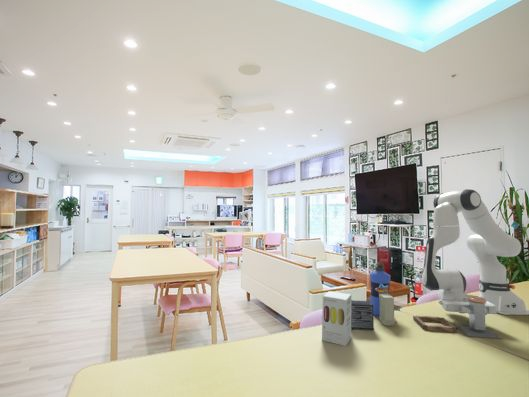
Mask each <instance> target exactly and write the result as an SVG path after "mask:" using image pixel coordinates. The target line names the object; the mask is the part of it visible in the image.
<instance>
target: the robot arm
mask: <svg viewBox="0 0 529 397" xmlns="http://www.w3.org/2000/svg"><path fill="white" fill-rule="evenodd" d="M481 198H482V197H481V196H480V194H479V192H477V191H476V190H474V189H460V190H459V189H457V190H452V191H447V192H442V193H440V194H437V195H436V196H434V199H433V208H434V210H433V218H432V224H433V225H432V226H433V231H432V234H431V235H430V236H429V237H428V238H427V240H426V244H425V252H424V262H423V269H422V273H421V282H422V285H423V287H425V288H426V289H427V290H429V291H430V292H431V291H437V296H438V298H439V299H440V301H439V300H438V304H439V305H440V306H441V307H442V309H444V310H445V311H446V312H449V313H451V312H452V313H459V314H468V315H469V314H473V310H471V309H469V301H468V296H474V295H473V294H467V293H465V292H466V290H467V279H466V277H465V276H464V275H465V274H463V272H461V271H460V270H458V269H454V268H453V269H449V268H447V269H436V259H437V253H438V252H439V250H441V249H442V248H444V247H447V246H450V245H452V244H454V243H455V242H457V241H458V239H459V238H460V235H461V234H460V233H461V232H460V231H461V229H460V221H459V216H458V213H461V215H462V216H463V218H464V220H465V221H466V224H467V225H468V227H469V229H470V230H471V231H472V232H473V233H474V234H471V235H469V236H468V238H467V241H466V245H467V247H468V248H467V249H469V250H470V251H471V252H472V253H473V255H474V256H475V258H476V260H477V262H478V263H477V264H478V266H479V280H478V288H479V290H478V291H479V293H478V294H479V295H478V296H477V295H475V296H476V297H482V298H485V299H486V303H485V316H487V315H496V314H500V315H506V316H508V315H509V316H512V315H513V316H514V315H515V316H528V315H529V309H527V308H526V306H527V305H526V303H525V301H524V300H523V298H521V297H520V296H518V295H517V294H516V293H514V291H512V290H515V289H516V286H515V285H514V284H509V283H507V268H506V266H505V265H503V263H501V261H499V260H498V257H503V258H510V257H511V258H514V257H516V256H518V255H519V254H520V253H521V251H522V245H521V242H520V240H519V239H518V238H516V237H514V236H512V235H510V234H509V233H507V232H506V231H505V230H503V229H502V228H501V227H500V226H499V225H498V224H497V223H496V221H495V219H494V218H493V217H492V215H491V213H490V211H489V210H488V207H487V205H486V204H485V202H483V200H482V199H481ZM511 289H512V290H511Z"/></svg>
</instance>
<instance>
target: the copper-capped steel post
mask: <svg viewBox="0 0 529 397" xmlns="http://www.w3.org/2000/svg"><path fill="white" fill-rule="evenodd" d="M476 296H477V295H473V296H468V301H469V309H471V310H473V314H468V319H469V320H468V321H469V322H468V323H469V327H472V328H473V329H475V330H486V329H485V328H486V315H485V303H486V299H485V298H482V297H476Z"/></svg>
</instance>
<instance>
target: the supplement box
mask: <svg viewBox="0 0 529 397" xmlns="http://www.w3.org/2000/svg"><path fill="white" fill-rule="evenodd" d="M351 300H352V294H350V293H344V292H337V291H332V290H329V291H327V292H326V293H325V294H324V295H323V296H322V314H321V315H322V316H321V317H322V318H321V341H323V342H327V343H332V344H337V345H341V346H345V347H346V346H347V345H348V343H349V341H350V339H351V338H352V329H351Z"/></svg>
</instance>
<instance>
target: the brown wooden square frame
mask: <svg viewBox="0 0 529 397" xmlns="http://www.w3.org/2000/svg"><path fill="white" fill-rule="evenodd" d="M412 319H413V321H414V322H415V323H416V324H417V325H418V326H419V327H420V328H421V329H422V330H424V331H425V330H426V331H428V332H429V331H430V332H442V333H443V332H444V333H445V332H446V333H454V332H455V333H456V332H457V328H456V325H454V324H452V323H451V322H449V321H448V319H445V317H440V316H429V315H413V317H412ZM431 321H435V322H434V323H441V322H442V323H443V324H442V323H441V324H442V325H435V324H427V323H425V322H431Z"/></svg>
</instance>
